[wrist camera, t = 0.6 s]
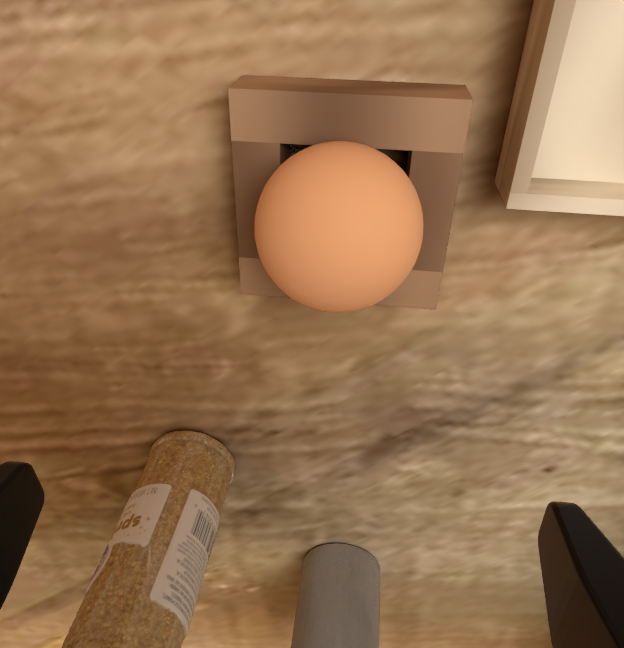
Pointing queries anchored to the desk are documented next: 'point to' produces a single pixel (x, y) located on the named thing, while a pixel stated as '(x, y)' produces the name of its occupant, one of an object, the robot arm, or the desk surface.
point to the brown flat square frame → (361, 127)
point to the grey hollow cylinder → (338, 599)
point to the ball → (338, 226)
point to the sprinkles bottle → (158, 549)
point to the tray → (567, 112)
